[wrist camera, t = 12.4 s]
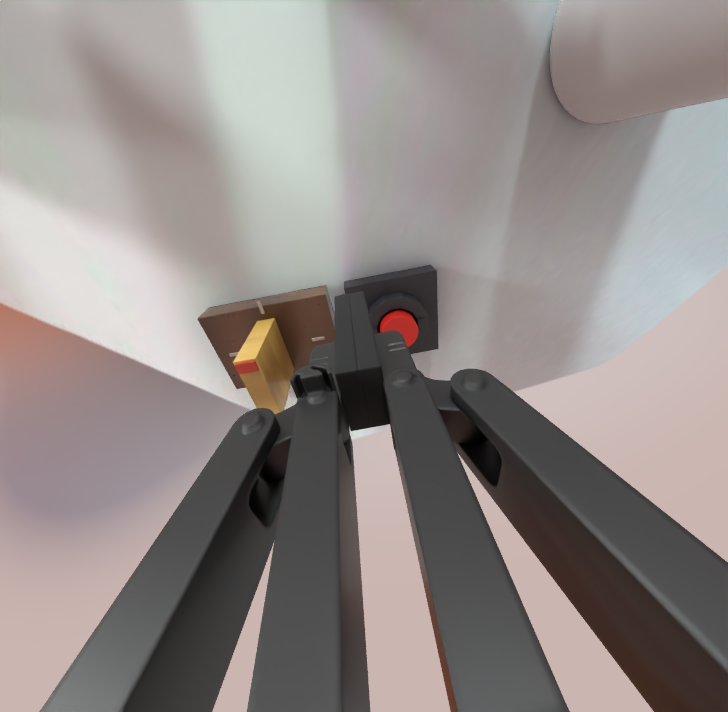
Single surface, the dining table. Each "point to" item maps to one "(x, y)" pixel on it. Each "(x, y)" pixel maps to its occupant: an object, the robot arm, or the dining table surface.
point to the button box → (403, 301)
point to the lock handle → (265, 366)
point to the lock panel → (292, 314)
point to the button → (400, 325)
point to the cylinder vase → (638, 56)
